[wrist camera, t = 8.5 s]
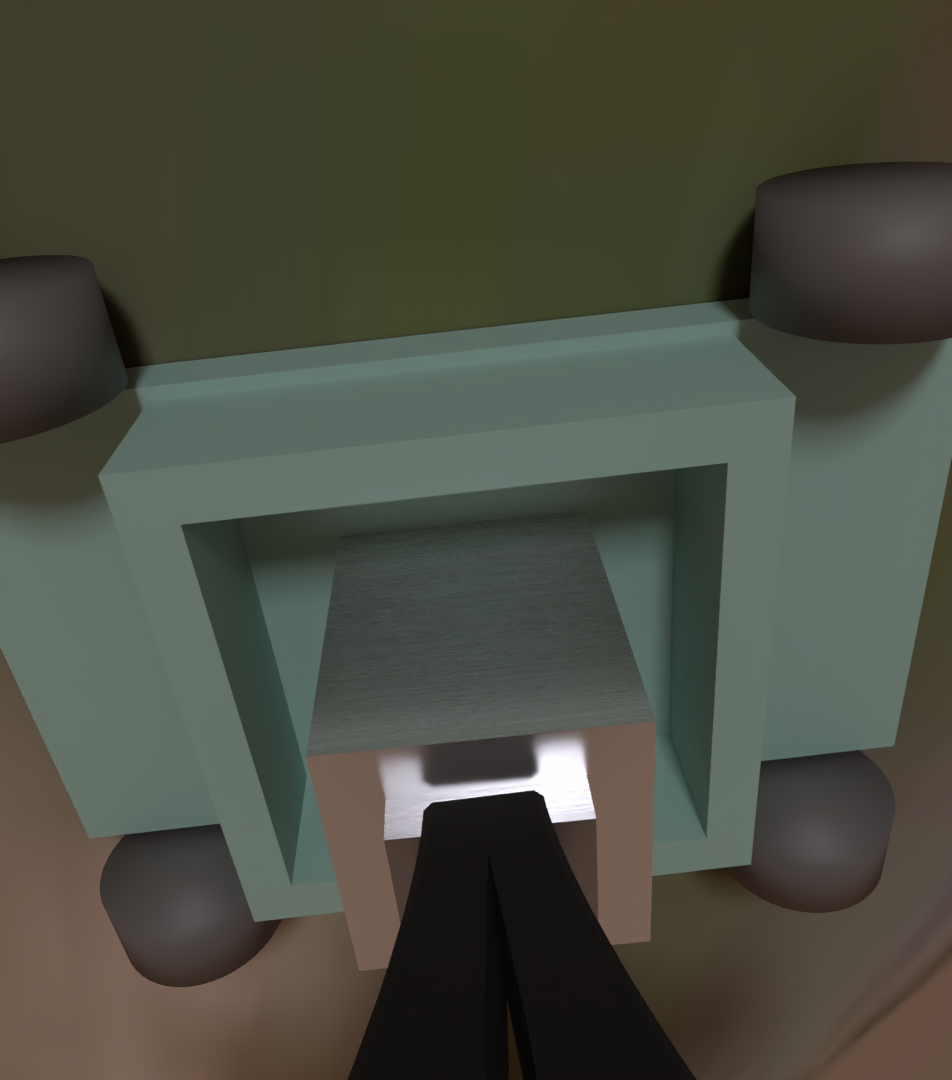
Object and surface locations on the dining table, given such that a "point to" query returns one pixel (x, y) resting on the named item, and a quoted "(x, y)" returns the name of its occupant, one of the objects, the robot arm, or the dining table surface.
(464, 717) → the block
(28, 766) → the dining table surface
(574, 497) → the chassis
